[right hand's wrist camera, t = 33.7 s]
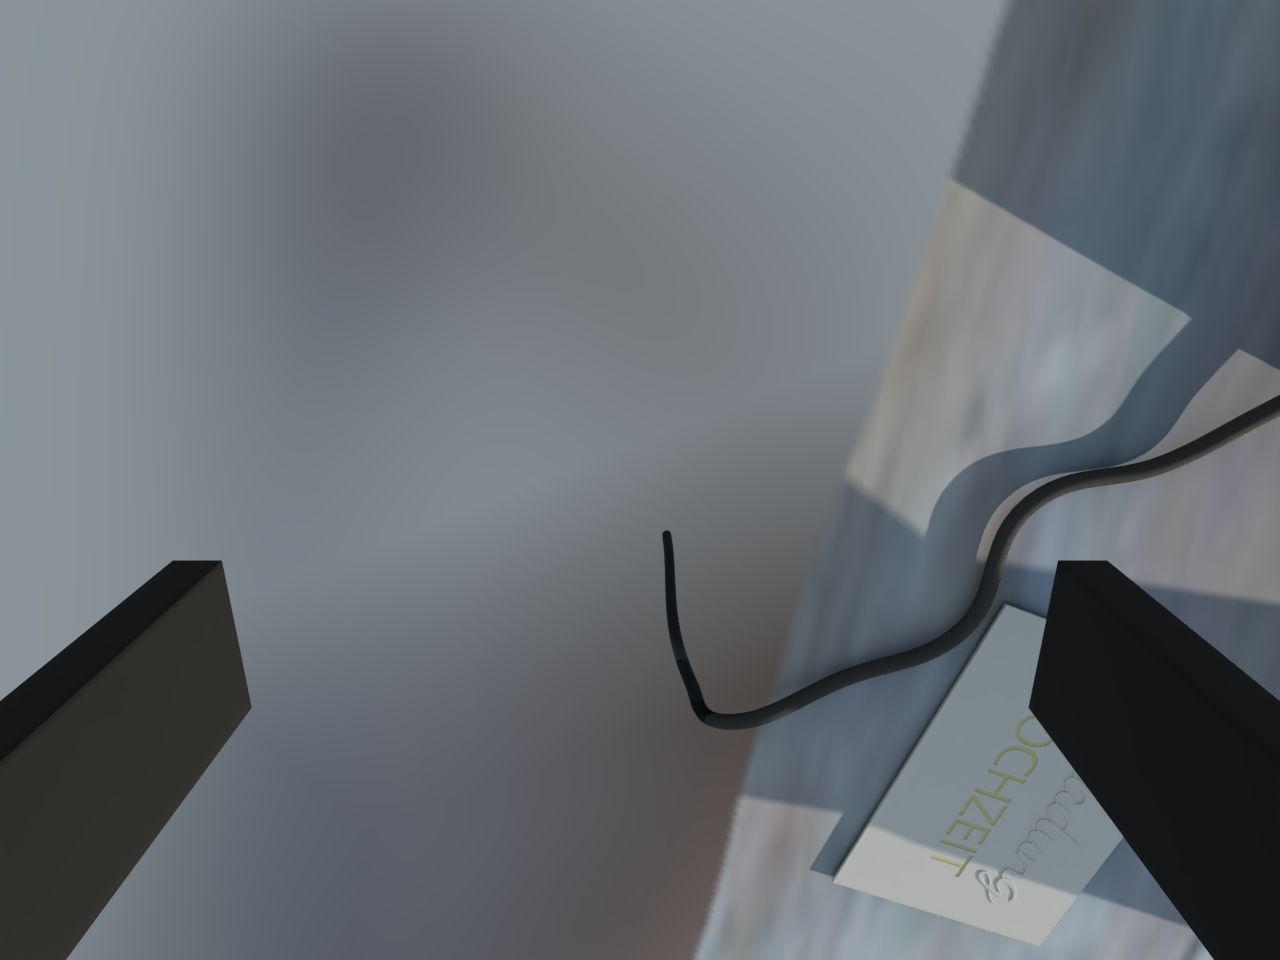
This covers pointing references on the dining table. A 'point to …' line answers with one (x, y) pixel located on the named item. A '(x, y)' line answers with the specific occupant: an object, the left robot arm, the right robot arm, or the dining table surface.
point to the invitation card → (986, 805)
